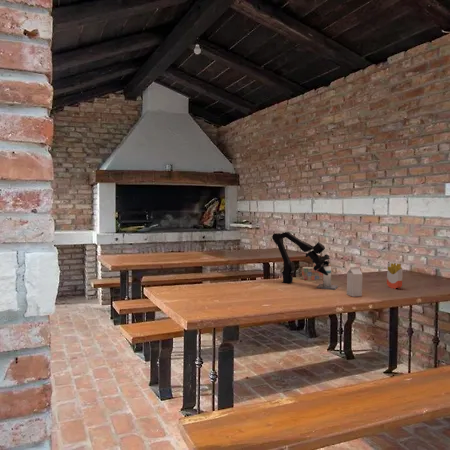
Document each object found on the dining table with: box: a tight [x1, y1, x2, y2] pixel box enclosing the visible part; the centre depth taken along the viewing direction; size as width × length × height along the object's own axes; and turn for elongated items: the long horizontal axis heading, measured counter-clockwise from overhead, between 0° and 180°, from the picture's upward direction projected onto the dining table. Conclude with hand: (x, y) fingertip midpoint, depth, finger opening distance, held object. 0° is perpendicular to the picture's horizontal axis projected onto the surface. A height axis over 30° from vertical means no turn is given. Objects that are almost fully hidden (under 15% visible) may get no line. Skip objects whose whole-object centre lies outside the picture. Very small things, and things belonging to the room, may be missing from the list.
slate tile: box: [316, 283, 339, 291], centre depth 306 cm, size 13×11×1 cm
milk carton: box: [346, 266, 363, 298], centre depth 281 cm, size 7×7×19 cm
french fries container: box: [386, 262, 404, 290], centre depth 306 cm, size 5×11×18 cm, turn 20°
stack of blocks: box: [301, 263, 331, 281], centre depth 338 cm, size 21×6×12 cm, turn 92°
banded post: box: [322, 265, 332, 287], centre depth 305 cm, size 6×6×14 cm
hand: (329, 274), depth 304 cm, fingers open, 6 cm apart
